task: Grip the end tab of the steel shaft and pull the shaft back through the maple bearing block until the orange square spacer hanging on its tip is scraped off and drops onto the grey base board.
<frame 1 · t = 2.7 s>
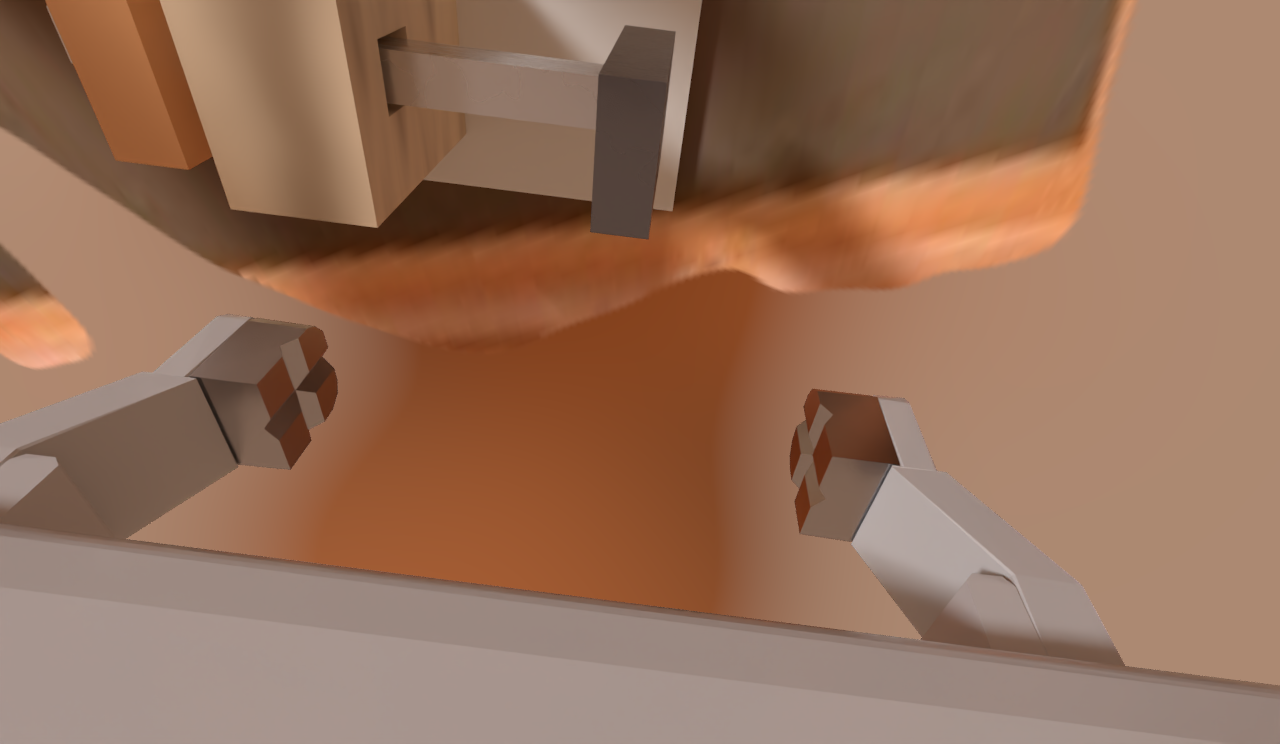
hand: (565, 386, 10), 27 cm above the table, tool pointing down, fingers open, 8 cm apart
base board: (407, 22, 32), on the table
bearing block: (346, 51, 26), on the base board, point 7 cm above the table
shaft: (338, 86, 22), point 12 cm above the table, slide at 0.0 cm, touching spacer
spacer: (237, 20, 29), point 4 cm above the table, touching shaft
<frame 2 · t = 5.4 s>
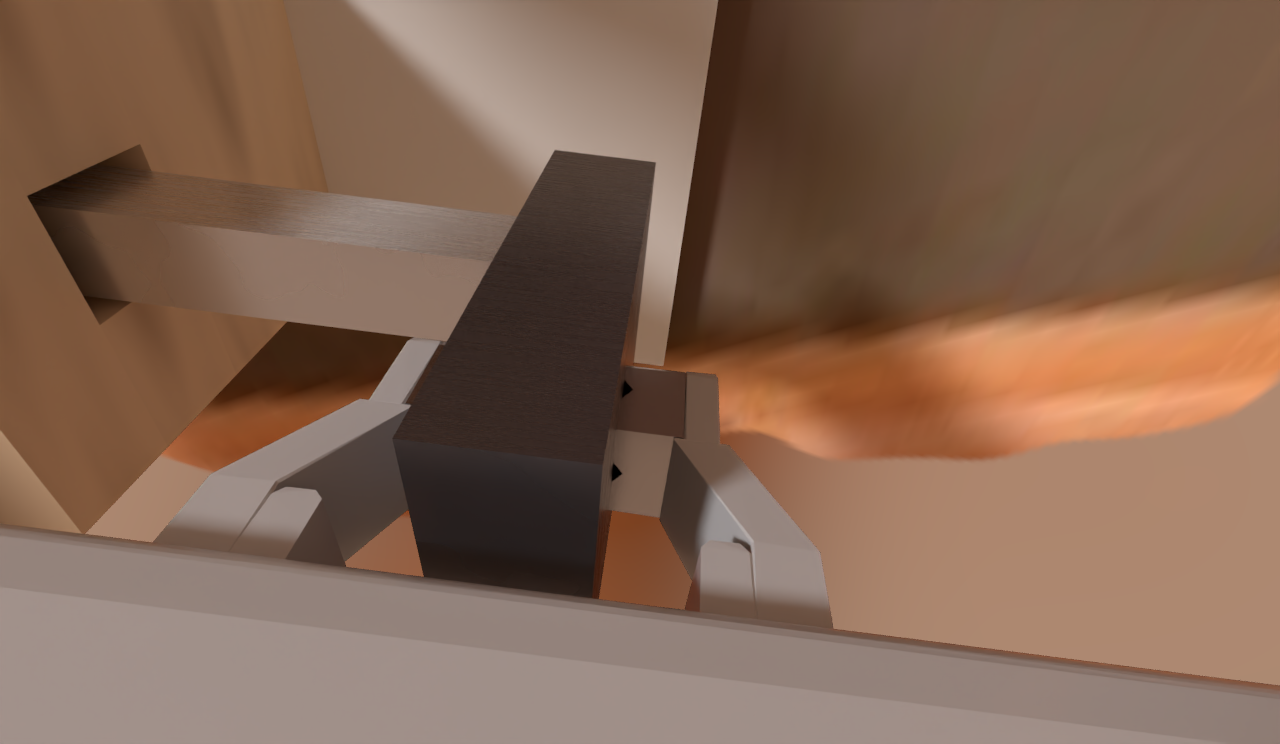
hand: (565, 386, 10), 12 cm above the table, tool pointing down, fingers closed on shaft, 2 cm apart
base board: (235, 98, 20), on the table
bearing block: (57, 179, 14), on the base board, point 7 cm above the table
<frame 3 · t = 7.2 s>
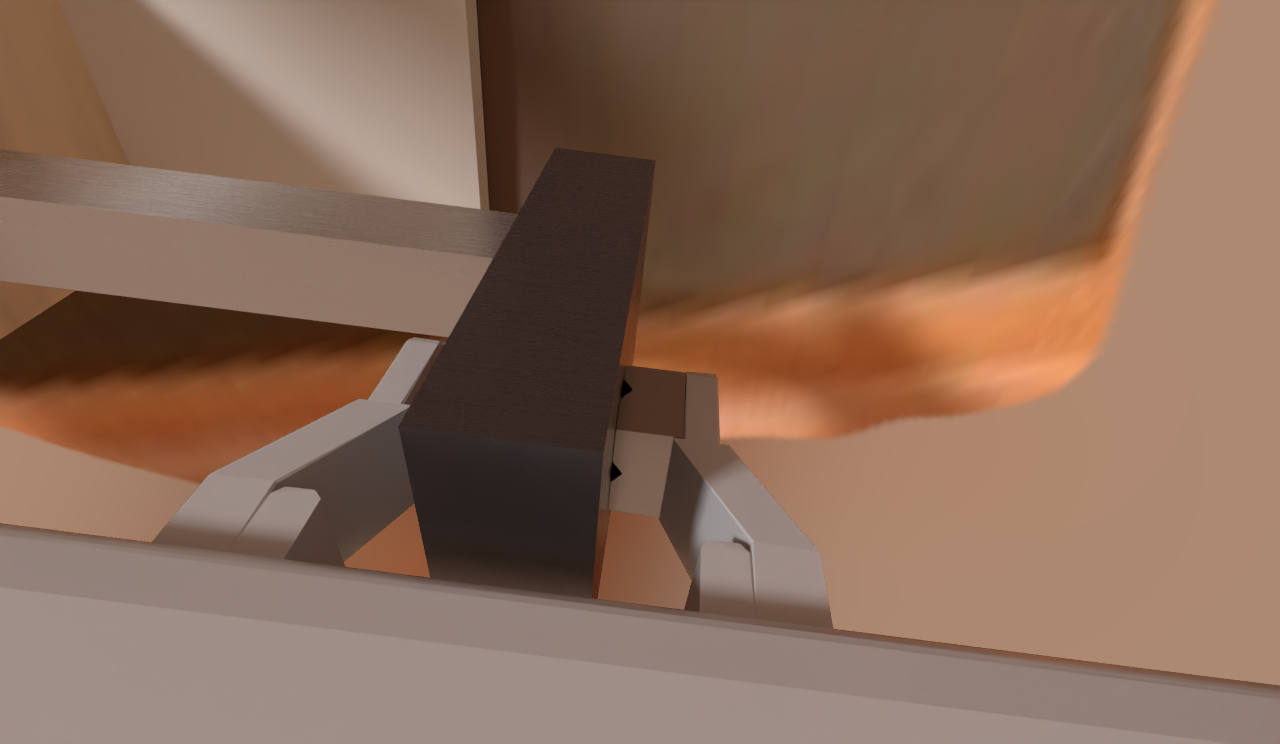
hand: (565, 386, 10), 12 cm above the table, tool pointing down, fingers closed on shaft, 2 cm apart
base board: (30, 71, 20), on the table
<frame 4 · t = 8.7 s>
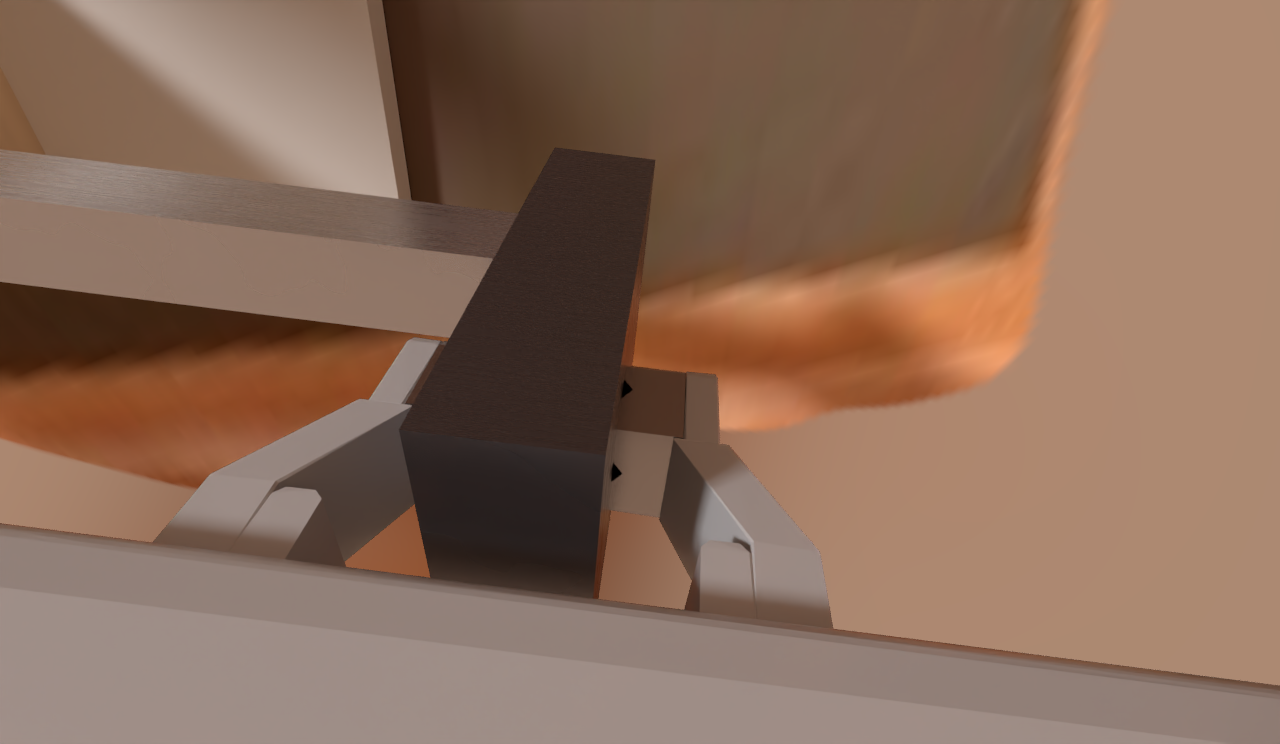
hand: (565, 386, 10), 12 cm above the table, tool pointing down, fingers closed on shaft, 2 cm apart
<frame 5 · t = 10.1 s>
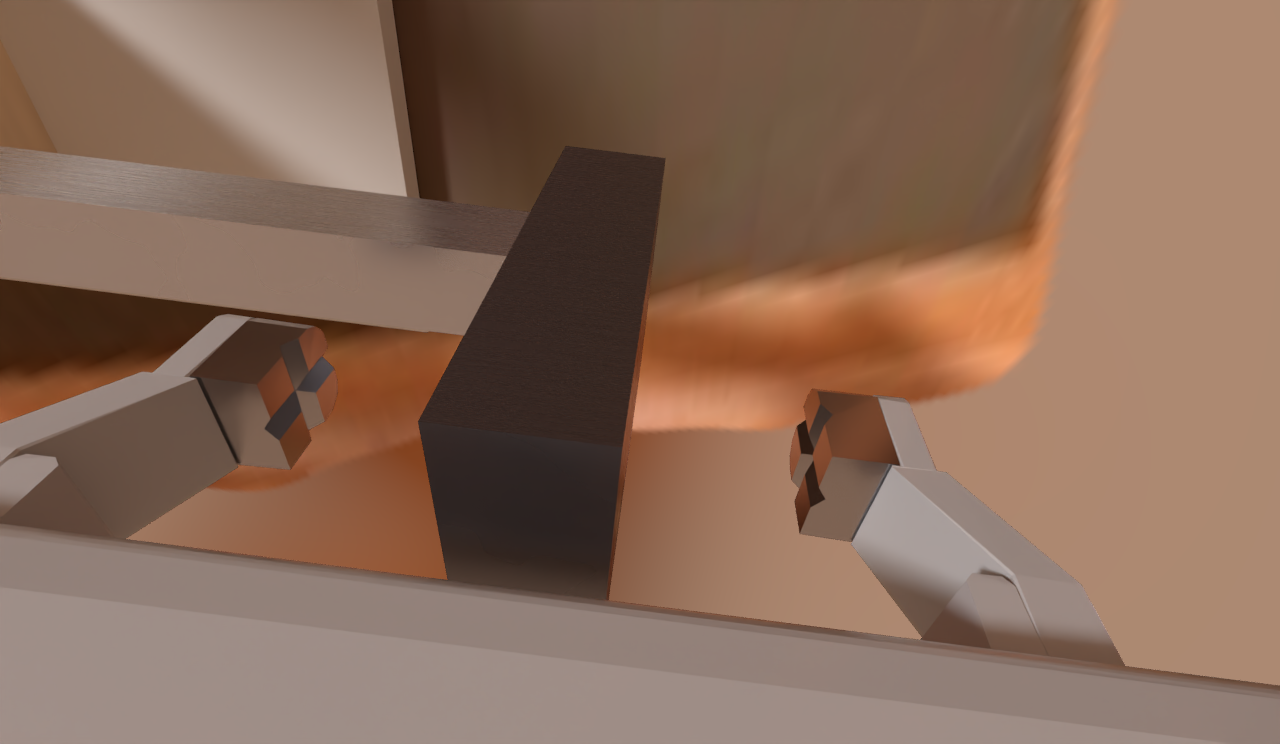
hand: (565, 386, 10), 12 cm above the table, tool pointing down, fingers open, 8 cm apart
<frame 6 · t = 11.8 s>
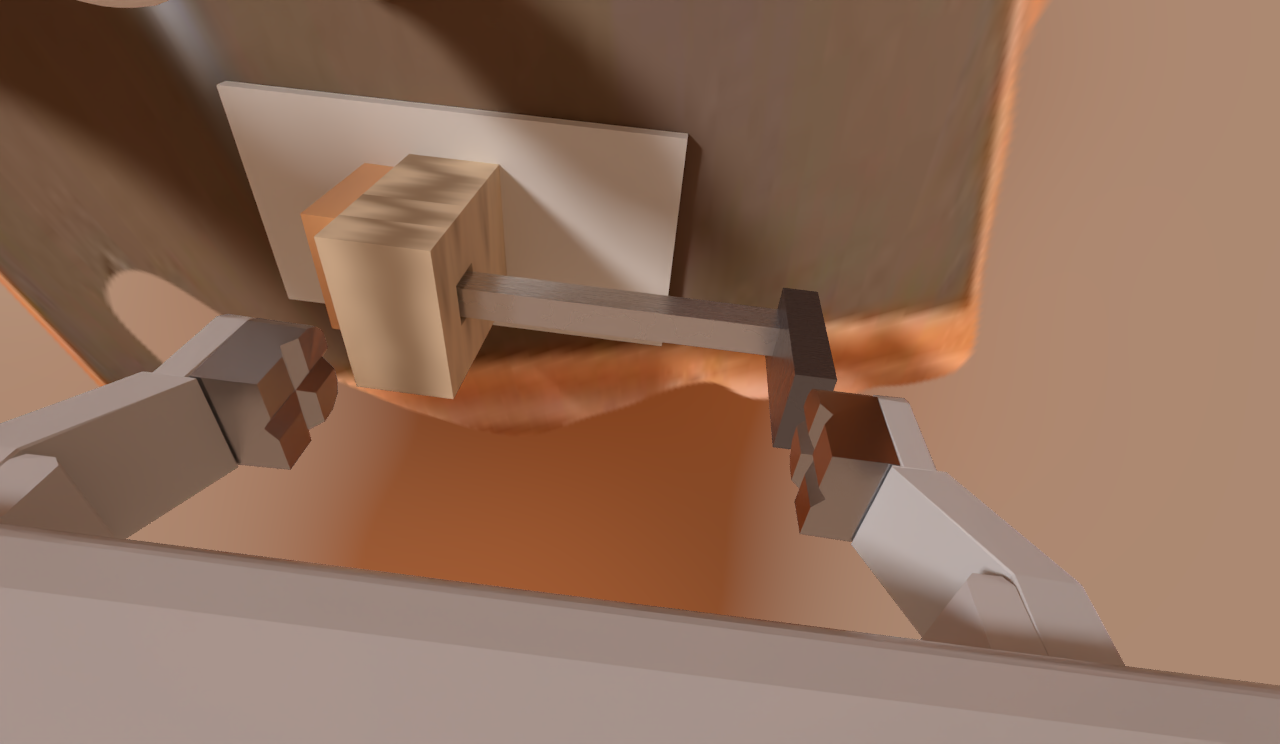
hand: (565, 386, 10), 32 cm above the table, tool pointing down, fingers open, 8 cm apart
base board: (466, 223, 44), on the table
bearing block: (430, 271, 39), on the base board, point 7 cm above the table
shaft: (599, 341, 34), point 12 cm above the table, slide at 9.6 cm
spacer: (396, 221, 43), point 1 cm above the table, touching base board
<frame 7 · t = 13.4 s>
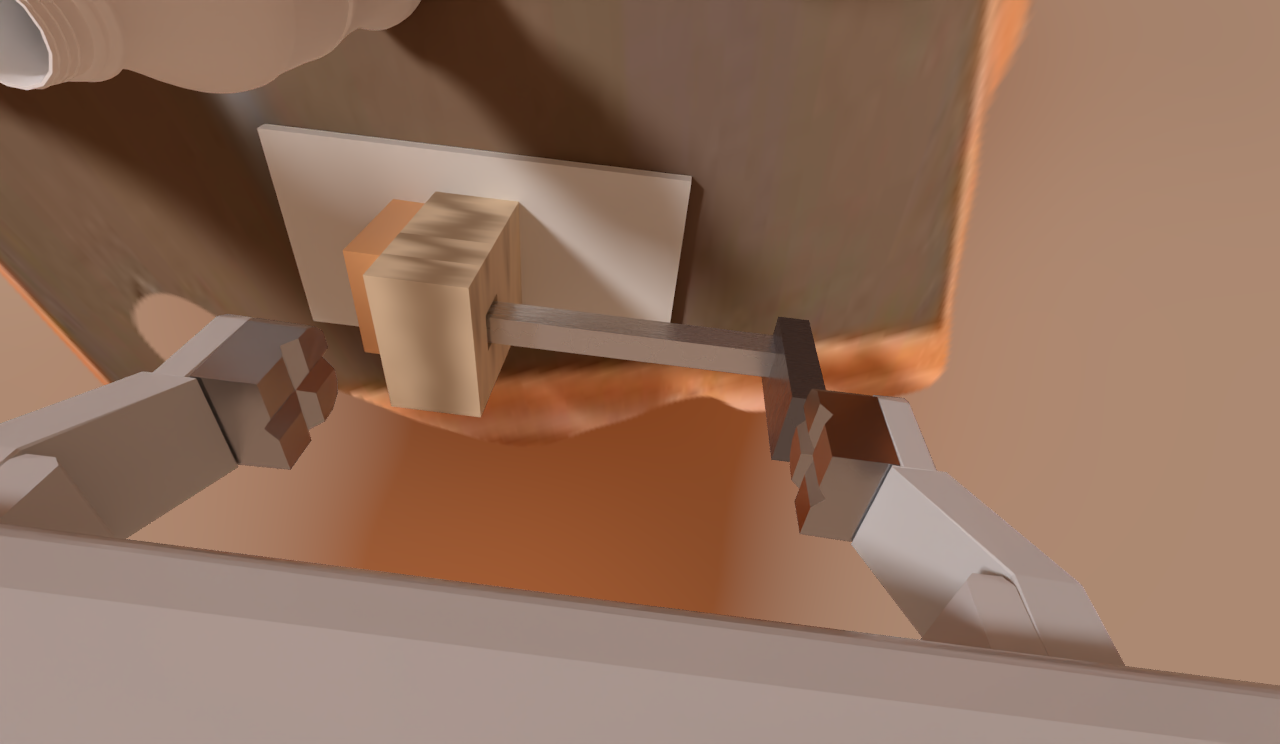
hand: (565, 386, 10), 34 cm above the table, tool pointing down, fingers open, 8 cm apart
base board: (485, 252, 48), on the table
bearing block: (457, 300, 42), on the base board, point 7 cm above the table
shaft: (616, 365, 38), point 12 cm above the table, slide at 9.6 cm
spacer: (420, 251, 47), point 1 cm above the table, touching base board
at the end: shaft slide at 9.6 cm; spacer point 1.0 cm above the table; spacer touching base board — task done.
